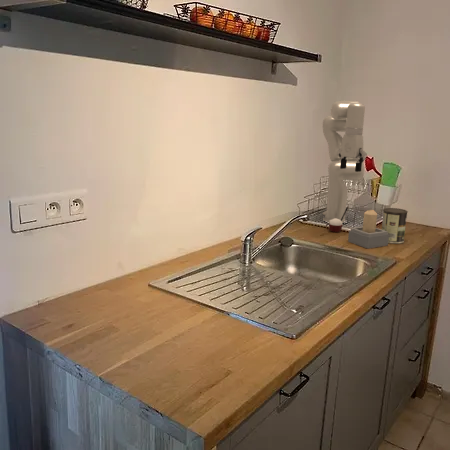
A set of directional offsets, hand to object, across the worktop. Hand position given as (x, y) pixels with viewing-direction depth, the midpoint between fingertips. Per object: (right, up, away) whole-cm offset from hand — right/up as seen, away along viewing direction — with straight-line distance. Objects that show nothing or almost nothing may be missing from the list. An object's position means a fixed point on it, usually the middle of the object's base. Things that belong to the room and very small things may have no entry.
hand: (350, 170), depth 227 cm
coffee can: (+18, -32, -2) cm, 37 cm away
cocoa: (-4, -28, +11) cm, 31 cm away
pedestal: (+6, -33, -8) cm, 35 cm away
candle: (+6, -29, -9) cm, 30 cm away
